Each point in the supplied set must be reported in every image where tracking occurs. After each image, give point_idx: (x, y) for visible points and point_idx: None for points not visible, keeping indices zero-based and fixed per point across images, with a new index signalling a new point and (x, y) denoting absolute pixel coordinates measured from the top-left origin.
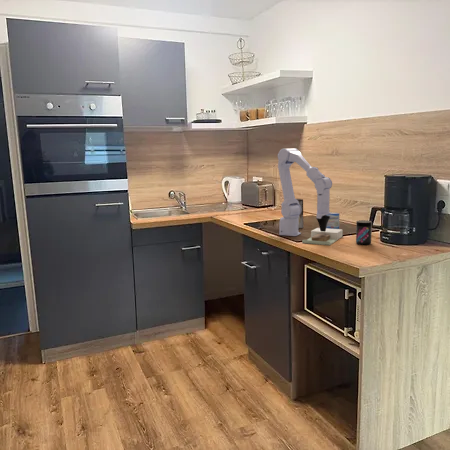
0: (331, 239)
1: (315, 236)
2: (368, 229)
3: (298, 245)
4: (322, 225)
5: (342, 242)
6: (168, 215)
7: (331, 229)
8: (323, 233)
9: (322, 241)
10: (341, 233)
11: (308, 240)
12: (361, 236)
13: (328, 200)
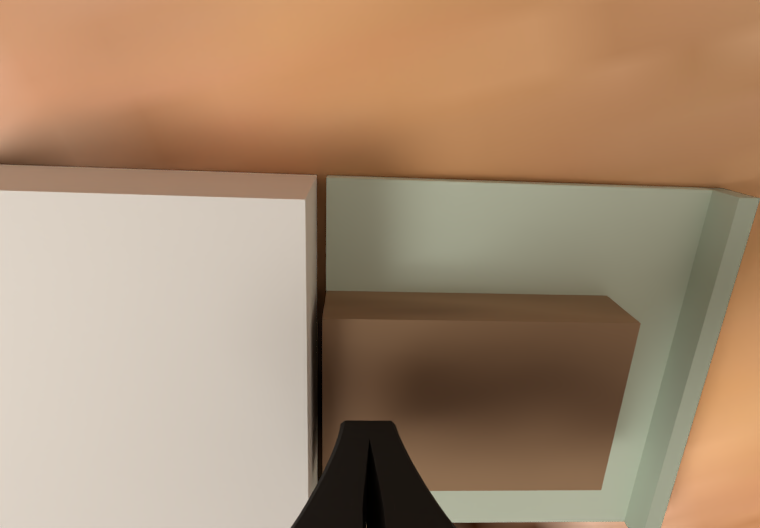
0: (364, 256)
1: (525, 466)
2: None
3: (756, 511)
4: None
5: (463, 50)
6: None
7: (8, 384)
8: (310, 424)
9: (714, 310)
10: (7, 176)
11: (673, 481)
12: None
13: None
